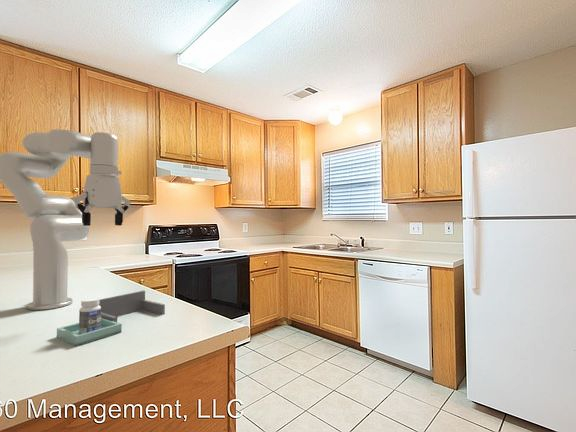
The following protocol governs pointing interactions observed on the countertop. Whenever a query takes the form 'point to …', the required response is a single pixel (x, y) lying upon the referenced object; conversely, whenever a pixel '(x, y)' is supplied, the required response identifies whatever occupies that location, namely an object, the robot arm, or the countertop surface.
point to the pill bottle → (89, 315)
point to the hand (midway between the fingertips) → (103, 225)
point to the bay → (128, 305)
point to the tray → (73, 336)
